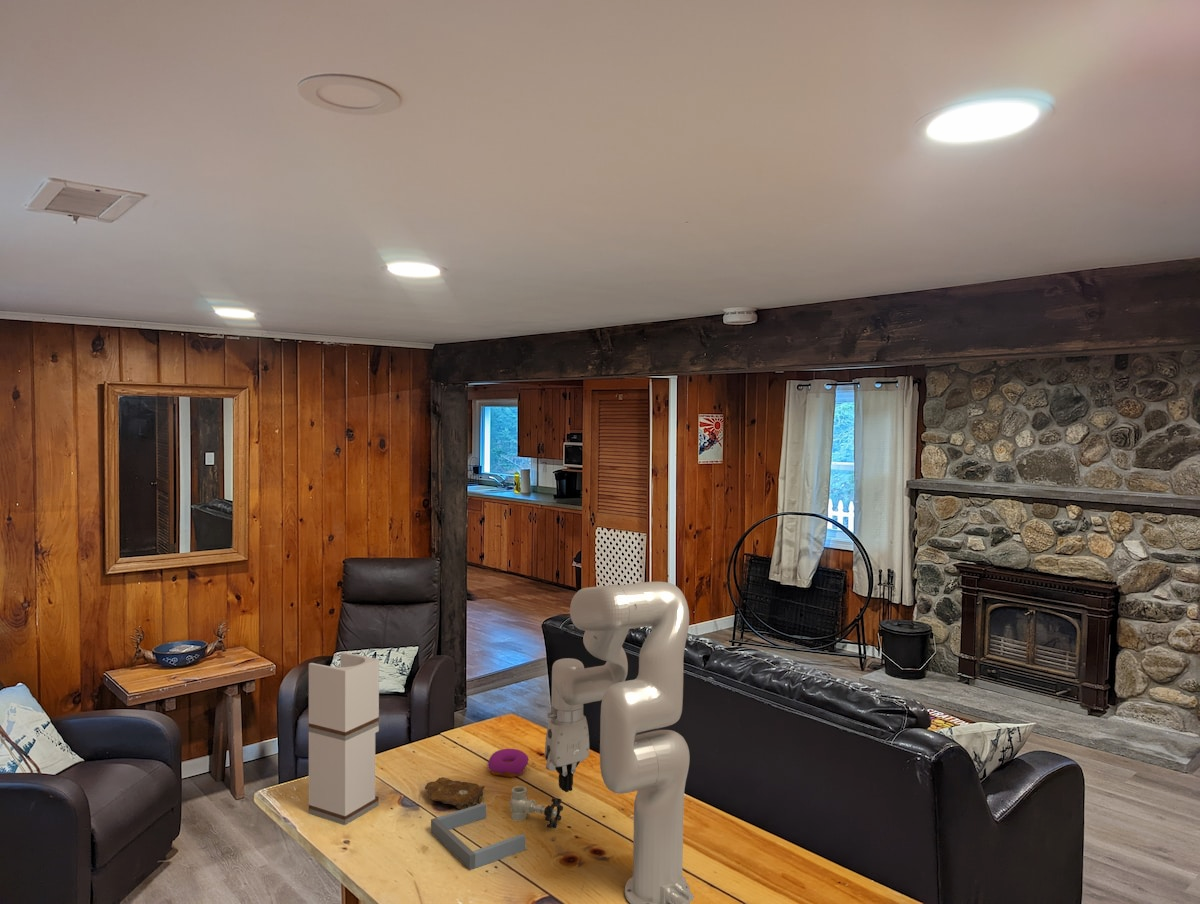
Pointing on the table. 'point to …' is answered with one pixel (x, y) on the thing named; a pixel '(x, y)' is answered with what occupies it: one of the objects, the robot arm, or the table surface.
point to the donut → (508, 762)
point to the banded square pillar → (343, 737)
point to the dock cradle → (460, 850)
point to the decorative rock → (455, 792)
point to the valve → (533, 807)
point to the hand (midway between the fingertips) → (565, 789)
